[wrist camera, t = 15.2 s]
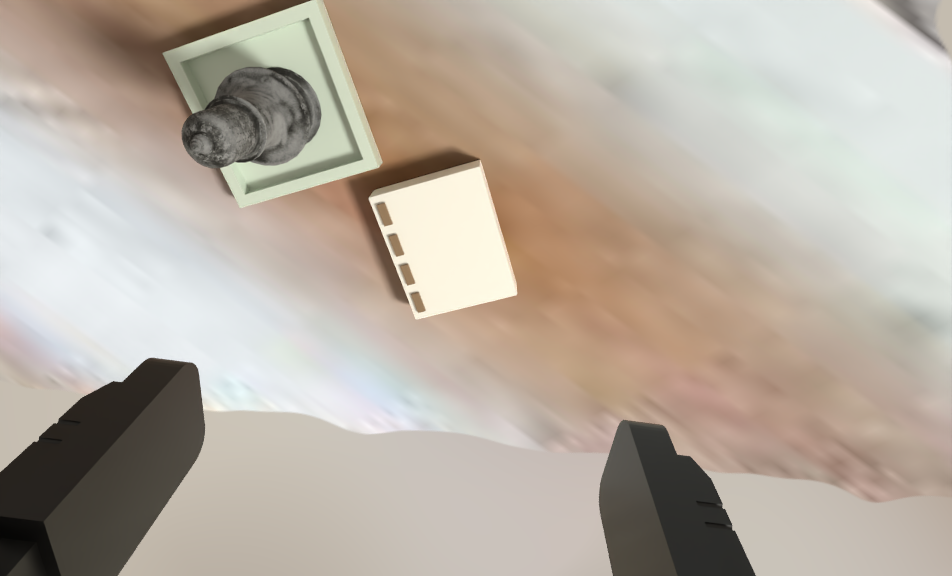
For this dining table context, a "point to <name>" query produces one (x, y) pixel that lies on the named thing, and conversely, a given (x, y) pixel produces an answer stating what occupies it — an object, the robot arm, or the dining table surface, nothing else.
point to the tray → (315, 59)
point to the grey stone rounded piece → (254, 119)
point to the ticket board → (445, 240)
